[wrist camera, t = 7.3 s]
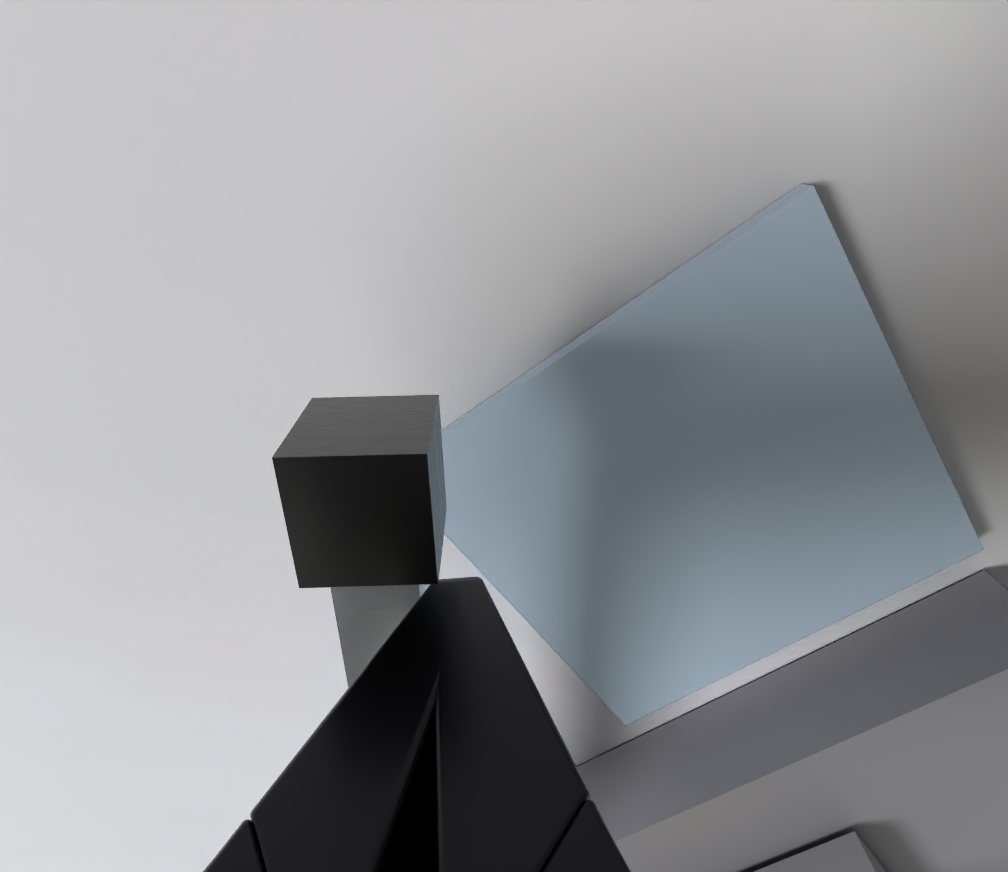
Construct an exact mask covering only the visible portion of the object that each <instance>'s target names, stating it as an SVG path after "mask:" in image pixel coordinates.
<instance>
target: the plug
mask: <svg viewBox="0 0 1008 872" xmlns="http://www.w3.org/2000/svg"><path fill="white" fill-rule="evenodd" d="M754 872H886V871H885V869H884V868H883V867H882V866H881V864H880V863H879V862H878V860H877V859H876V858H875V857H874V855H873V854H872V853H871V852H870V850H869V849H868V848H867V846H866V845H865V844H864V843H863V841H862V840H861V839H860V838H859V836H858V835H857V834H856V832H855V831H853V832H851V833H848V834H846V835H843V836H841V837H839V838H836V839H834V840H831V841H829V842H826V843H824V844H821V845H819V846H816V847H814V848H811V849H809V850H806V851H804V852H801V853H799V854H796V855H794V856H791V857H789V858H786V859H784V860H781V861H779V862H776V863H774V864H771V865H769V866H766V867H764V868H761V869H759V870H756V871H754Z"/></svg>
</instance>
